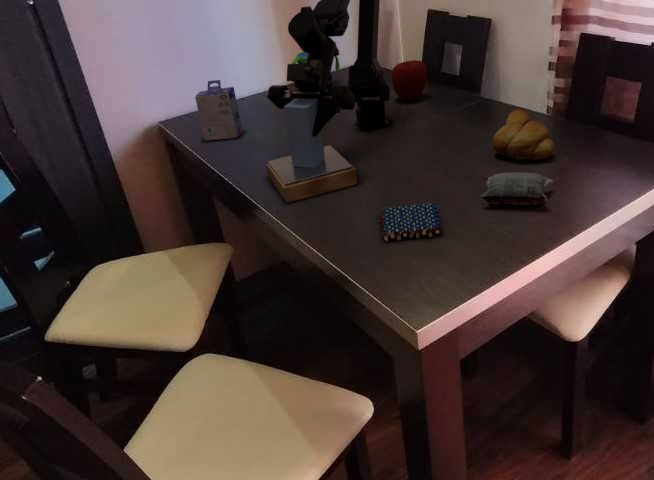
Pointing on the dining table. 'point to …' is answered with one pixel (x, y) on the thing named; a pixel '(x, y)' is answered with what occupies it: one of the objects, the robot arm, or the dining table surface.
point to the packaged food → (516, 188)
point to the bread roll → (523, 138)
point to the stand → (311, 176)
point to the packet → (303, 133)
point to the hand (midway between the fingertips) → (301, 135)
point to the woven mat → (410, 221)
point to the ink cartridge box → (218, 112)
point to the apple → (409, 79)
